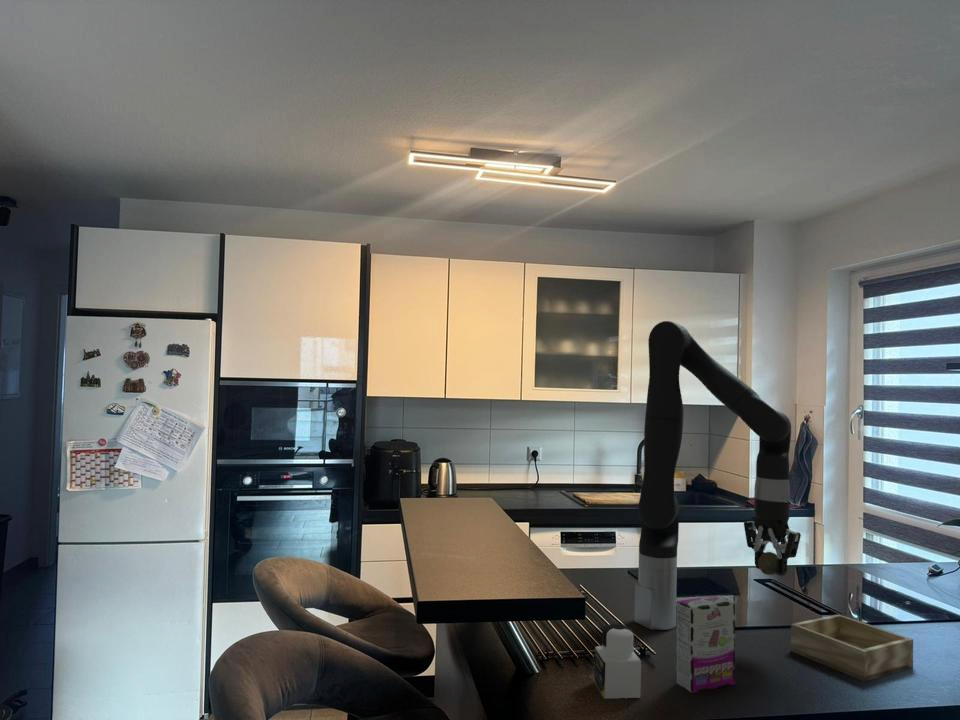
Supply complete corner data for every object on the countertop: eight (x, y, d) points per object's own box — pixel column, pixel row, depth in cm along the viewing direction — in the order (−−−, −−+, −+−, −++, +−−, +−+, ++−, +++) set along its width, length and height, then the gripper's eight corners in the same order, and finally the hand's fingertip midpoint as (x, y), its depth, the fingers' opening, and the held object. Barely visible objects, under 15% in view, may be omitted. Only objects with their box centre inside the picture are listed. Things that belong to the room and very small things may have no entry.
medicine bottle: (593, 682, 130) (595, 620, 130) (629, 682, 130) (630, 620, 131) (603, 699, 123) (605, 634, 123) (640, 699, 123) (642, 634, 124)
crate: (864, 681, 134) (864, 651, 134) (790, 650, 149) (791, 624, 149) (913, 667, 142) (913, 639, 142) (838, 639, 157) (838, 614, 157)
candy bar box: (717, 675, 135) (718, 594, 136) (735, 685, 130) (737, 601, 131) (673, 683, 131) (675, 599, 131) (691, 694, 126) (692, 607, 127)
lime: (783, 577, 149) (783, 555, 149) (760, 575, 150) (761, 553, 150) (778, 572, 154) (779, 550, 154) (756, 570, 155) (757, 548, 155)
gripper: (735, 493, 157) (733, 565, 156) (788, 503, 144) (786, 582, 144) (757, 491, 160) (755, 562, 160) (810, 502, 148) (809, 578, 147)
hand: (770, 571), depth 152 cm, fingers closed on lime, 5 cm apart
